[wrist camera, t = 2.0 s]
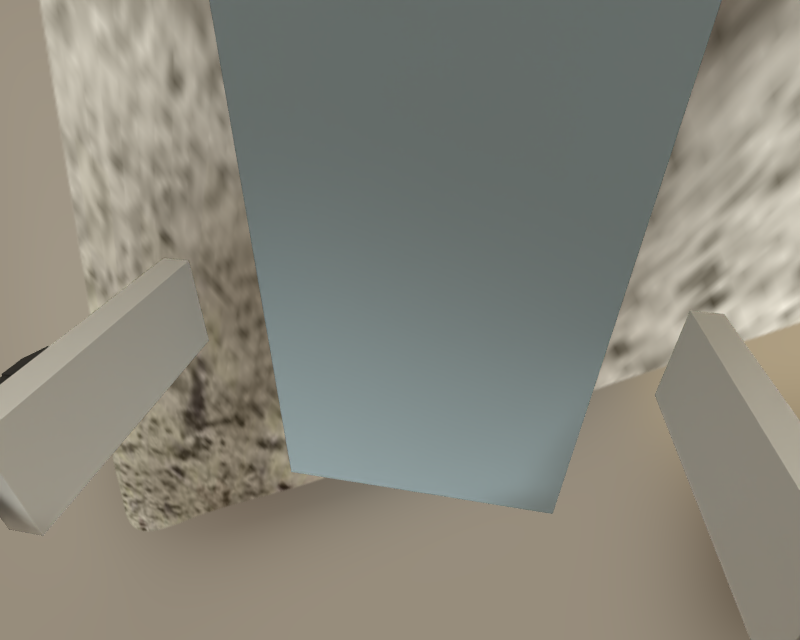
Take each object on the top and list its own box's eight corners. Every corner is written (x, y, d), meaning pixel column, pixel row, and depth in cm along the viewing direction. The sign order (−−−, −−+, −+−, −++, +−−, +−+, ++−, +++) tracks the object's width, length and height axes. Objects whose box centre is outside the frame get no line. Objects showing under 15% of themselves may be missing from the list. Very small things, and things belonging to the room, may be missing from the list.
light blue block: (301, -66, 14) (192, -96, 9) (656, -65, 13) (754, -98, 8) (335, 370, 24) (291, 471, 19) (541, 397, 23) (552, 513, 18)
